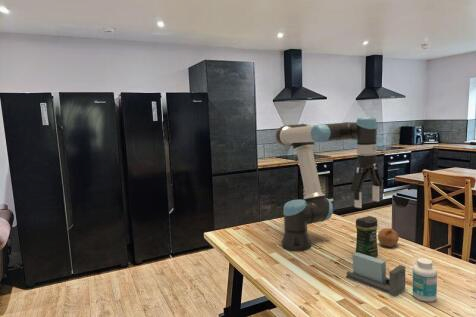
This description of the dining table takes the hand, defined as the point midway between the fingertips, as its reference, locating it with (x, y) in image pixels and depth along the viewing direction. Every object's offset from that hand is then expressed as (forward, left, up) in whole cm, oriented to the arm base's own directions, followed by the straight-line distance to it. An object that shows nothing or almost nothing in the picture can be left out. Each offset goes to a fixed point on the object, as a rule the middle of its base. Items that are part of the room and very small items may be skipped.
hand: (367, 204), depth 134 cm
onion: (-5, +28, -28) cm, 40 cm away
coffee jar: (-6, +10, -28) cm, 31 cm away
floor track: (+9, -11, -28) cm, 31 cm away
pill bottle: (+26, -8, -28) cm, 39 cm away
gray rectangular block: (+6, -11, -27) cm, 30 cm away
